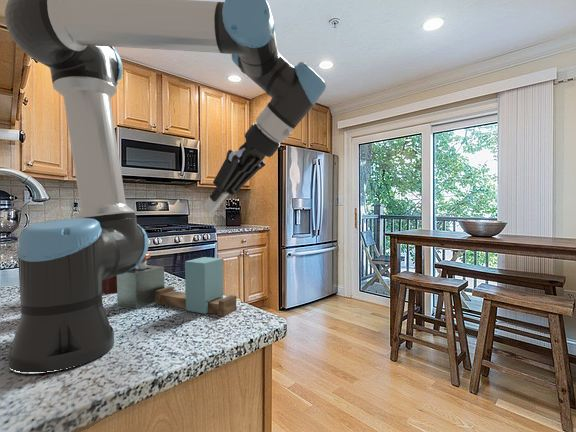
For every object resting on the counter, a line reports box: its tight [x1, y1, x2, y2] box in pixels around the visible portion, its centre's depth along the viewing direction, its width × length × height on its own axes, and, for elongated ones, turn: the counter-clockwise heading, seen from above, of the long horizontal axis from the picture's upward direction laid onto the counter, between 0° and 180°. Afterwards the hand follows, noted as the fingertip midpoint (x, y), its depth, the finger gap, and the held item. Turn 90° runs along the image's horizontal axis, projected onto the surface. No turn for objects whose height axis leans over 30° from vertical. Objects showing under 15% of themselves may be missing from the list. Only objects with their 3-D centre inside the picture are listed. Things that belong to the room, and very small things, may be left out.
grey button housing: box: [116, 264, 165, 310], centre depth 84 cm, size 7×9×9 cm
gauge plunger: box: [135, 252, 151, 271], centre depth 84 cm, size 5×5×6 cm
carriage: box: [184, 256, 224, 315], centre depth 79 cm, size 6×7×12 cm
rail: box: [154, 286, 237, 317], centre depth 80 cm, size 22×5×4 cm, turn 65°
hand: (208, 209), depth 76 cm, fingers closed
